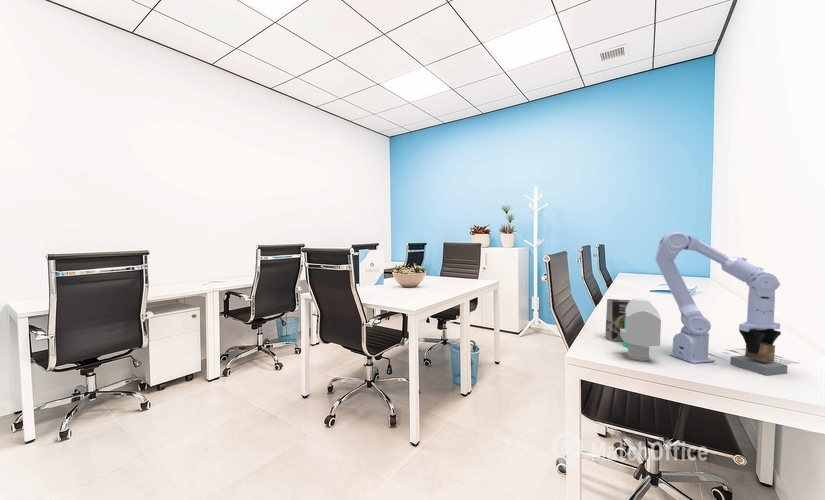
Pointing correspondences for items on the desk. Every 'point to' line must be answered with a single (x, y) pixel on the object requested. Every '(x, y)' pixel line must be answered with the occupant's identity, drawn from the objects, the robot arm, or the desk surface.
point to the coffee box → (615, 318)
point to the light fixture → (641, 328)
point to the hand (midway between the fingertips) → (758, 352)
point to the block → (763, 353)
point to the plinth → (759, 365)
